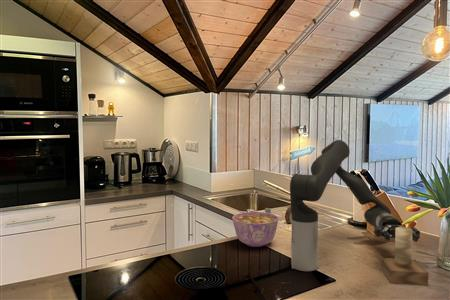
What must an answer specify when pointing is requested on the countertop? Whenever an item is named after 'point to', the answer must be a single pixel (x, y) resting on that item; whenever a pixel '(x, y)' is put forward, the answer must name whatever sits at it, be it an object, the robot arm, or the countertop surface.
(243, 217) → the bowl of food
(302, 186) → the robot arm
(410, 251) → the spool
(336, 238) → the countertop surface
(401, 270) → the walnut base
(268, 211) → the flask
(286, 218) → the tin
